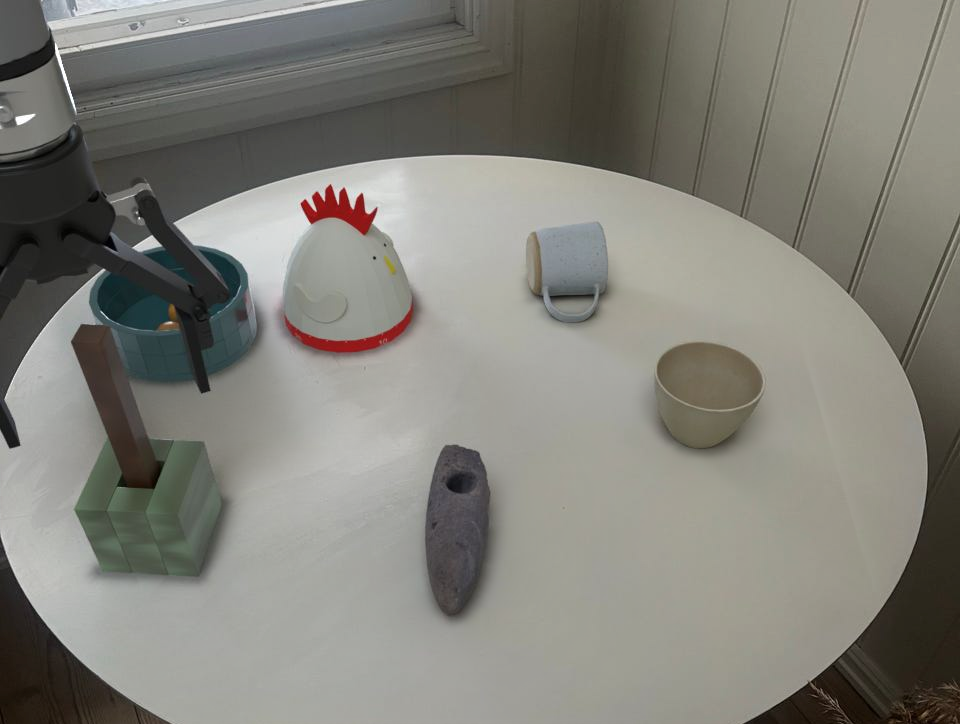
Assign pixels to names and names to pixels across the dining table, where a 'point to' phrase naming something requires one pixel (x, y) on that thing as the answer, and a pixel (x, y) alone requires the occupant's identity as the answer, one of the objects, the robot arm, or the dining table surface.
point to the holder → (152, 512)
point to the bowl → (144, 312)
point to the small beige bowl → (706, 390)
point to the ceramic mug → (568, 264)
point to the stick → (116, 404)
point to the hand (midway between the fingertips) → (109, 408)
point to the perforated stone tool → (456, 525)
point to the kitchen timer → (344, 279)
